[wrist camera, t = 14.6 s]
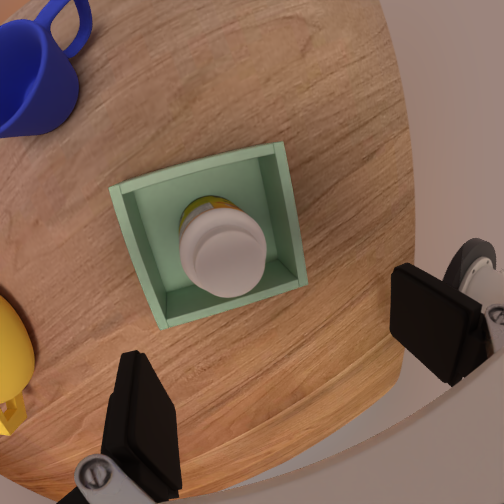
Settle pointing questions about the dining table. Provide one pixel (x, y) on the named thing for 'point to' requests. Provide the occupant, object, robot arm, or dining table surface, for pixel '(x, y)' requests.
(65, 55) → the mug
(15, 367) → the teapot
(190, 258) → the supplement bottle
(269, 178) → the bin
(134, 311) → the dining table surface
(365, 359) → the dining table surface
